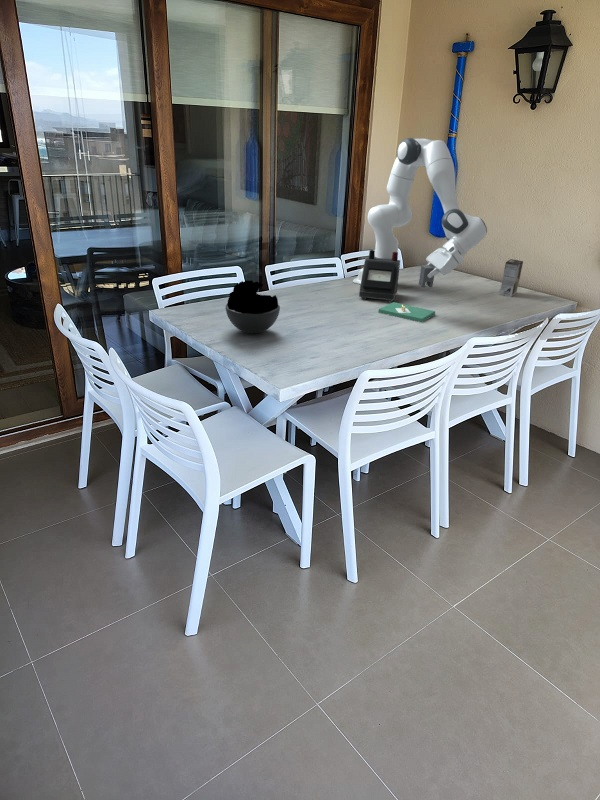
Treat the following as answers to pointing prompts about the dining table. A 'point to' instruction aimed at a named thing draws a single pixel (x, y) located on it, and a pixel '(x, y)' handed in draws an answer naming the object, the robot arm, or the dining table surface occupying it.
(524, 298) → the dining table surface
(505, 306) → the dining table surface
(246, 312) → the coal bowl
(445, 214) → the robot arm
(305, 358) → the dining table surface
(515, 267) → the coffee box
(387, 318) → the dining table surface
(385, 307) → the header board
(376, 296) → the voltmeter
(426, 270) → the block
